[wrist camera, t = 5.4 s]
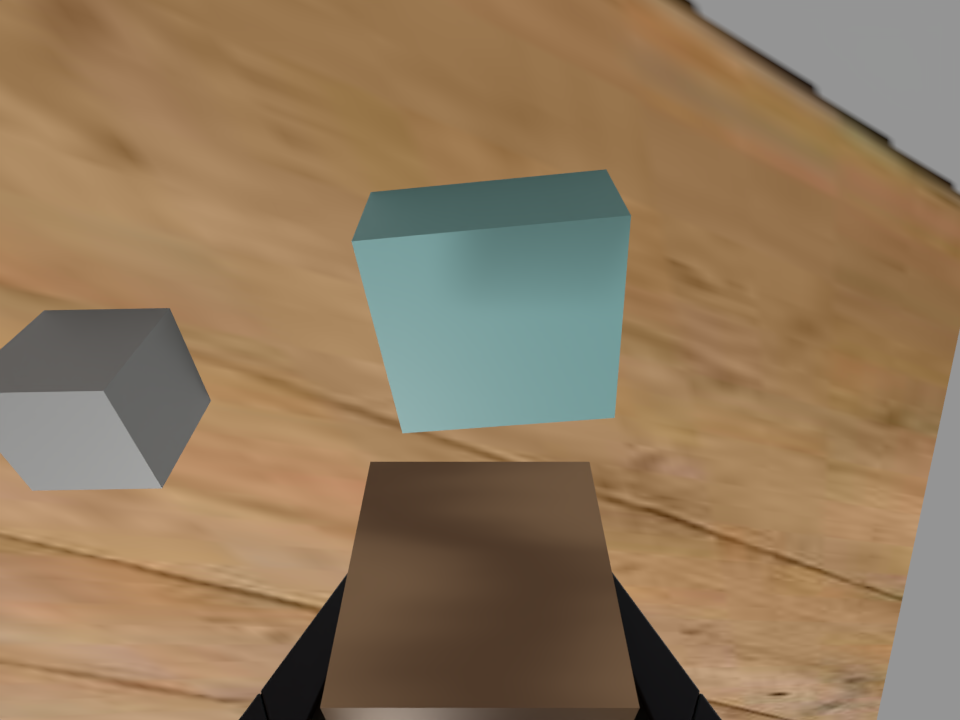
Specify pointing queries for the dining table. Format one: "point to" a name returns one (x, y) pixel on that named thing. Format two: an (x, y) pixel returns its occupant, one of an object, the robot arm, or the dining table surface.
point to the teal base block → (498, 298)
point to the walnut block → (479, 599)
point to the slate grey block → (98, 399)
